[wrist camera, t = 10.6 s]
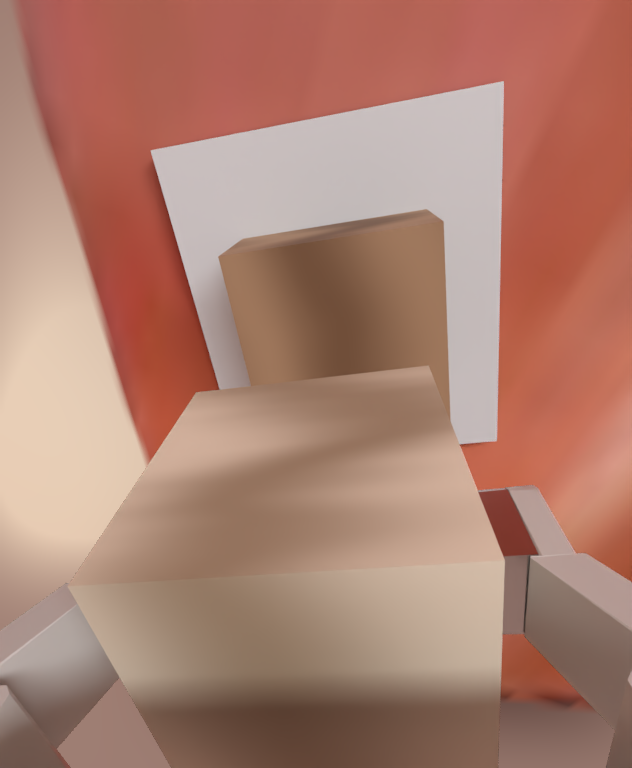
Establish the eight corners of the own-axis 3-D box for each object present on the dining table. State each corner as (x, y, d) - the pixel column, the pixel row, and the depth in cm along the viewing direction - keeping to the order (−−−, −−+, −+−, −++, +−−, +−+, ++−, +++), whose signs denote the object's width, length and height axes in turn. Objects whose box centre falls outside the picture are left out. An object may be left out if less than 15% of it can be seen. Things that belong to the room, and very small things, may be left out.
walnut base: (426, 208, 19) (443, 221, 15) (435, 379, 22) (450, 422, 19) (242, 238, 20) (217, 256, 16) (278, 396, 23) (264, 439, 20)
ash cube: (428, 365, 9) (505, 560, 5) (438, 545, 11) (496, 796, 7) (195, 392, 10) (67, 585, 5) (247, 557, 12) (186, 793, 7)
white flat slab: (499, 83, 17) (504, 81, 16) (493, 434, 24) (496, 441, 23) (156, 150, 19) (150, 150, 18) (243, 456, 26) (241, 463, 25)
